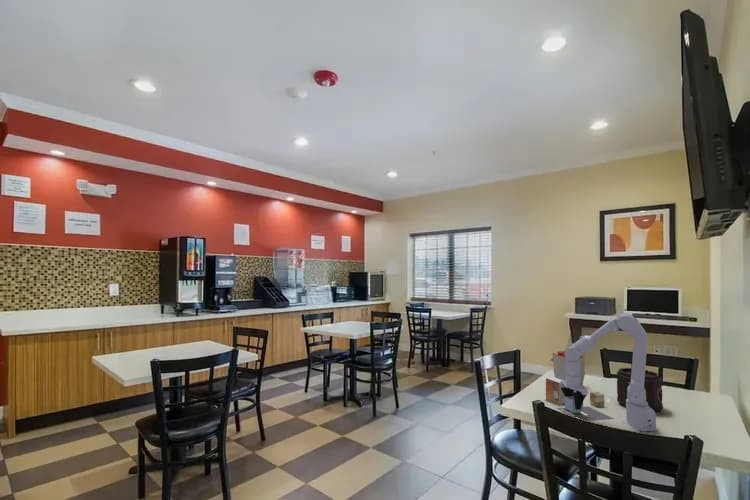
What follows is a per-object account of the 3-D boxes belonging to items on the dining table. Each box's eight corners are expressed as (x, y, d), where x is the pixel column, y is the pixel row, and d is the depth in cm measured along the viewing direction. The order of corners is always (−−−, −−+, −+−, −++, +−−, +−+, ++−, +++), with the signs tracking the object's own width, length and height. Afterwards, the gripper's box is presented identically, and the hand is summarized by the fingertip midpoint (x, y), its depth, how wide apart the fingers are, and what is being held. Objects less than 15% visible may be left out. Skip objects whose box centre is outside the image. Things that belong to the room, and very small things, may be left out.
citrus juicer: (558, 379, 217) (557, 344, 219) (590, 386, 204) (589, 349, 205) (544, 384, 208) (544, 347, 209) (578, 392, 194) (577, 352, 195)
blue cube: (583, 411, 162) (583, 399, 162) (573, 412, 161) (572, 400, 161) (575, 407, 167) (574, 395, 167) (565, 408, 166) (564, 396, 166)
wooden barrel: (653, 402, 180) (652, 368, 181) (671, 416, 162) (670, 378, 163) (610, 398, 185) (609, 365, 186) (623, 411, 167) (622, 375, 168)
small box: (545, 400, 181) (545, 377, 182) (554, 399, 183) (554, 376, 183) (559, 405, 173) (558, 382, 174) (568, 404, 175) (568, 381, 176)
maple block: (604, 407, 171) (604, 394, 172) (596, 408, 171) (596, 394, 171) (597, 404, 175) (597, 391, 176) (590, 405, 175) (589, 392, 175)
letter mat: (614, 420, 157) (614, 418, 157) (580, 422, 154) (580, 421, 154) (587, 407, 171) (587, 406, 172) (556, 409, 169) (556, 408, 169)
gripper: (554, 371, 171) (554, 401, 171) (576, 379, 157) (577, 413, 156) (568, 370, 173) (568, 401, 172) (591, 379, 158) (592, 412, 158)
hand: (573, 406), depth 164 cm, fingers closed on blue cube, 5 cm apart
